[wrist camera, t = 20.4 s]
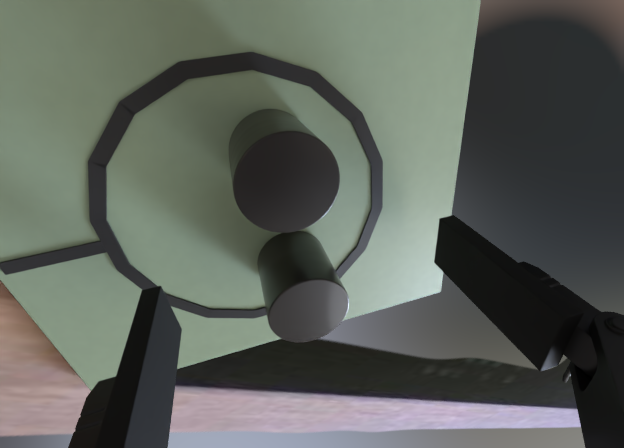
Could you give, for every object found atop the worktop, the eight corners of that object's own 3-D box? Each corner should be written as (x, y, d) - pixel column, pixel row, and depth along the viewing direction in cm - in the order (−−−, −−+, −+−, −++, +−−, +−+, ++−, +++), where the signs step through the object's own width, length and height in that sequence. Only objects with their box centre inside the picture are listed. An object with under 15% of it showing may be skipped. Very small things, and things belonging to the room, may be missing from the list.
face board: (474, -48, 13) (490, -54, 12) (434, 284, 22) (442, 293, 21) (-190, 14, 9) (-226, 11, 8) (97, 381, 18) (92, 395, 18)
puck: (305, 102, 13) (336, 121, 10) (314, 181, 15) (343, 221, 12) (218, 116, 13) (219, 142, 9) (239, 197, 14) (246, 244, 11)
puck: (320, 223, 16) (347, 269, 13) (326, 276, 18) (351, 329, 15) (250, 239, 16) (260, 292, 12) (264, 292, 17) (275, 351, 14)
